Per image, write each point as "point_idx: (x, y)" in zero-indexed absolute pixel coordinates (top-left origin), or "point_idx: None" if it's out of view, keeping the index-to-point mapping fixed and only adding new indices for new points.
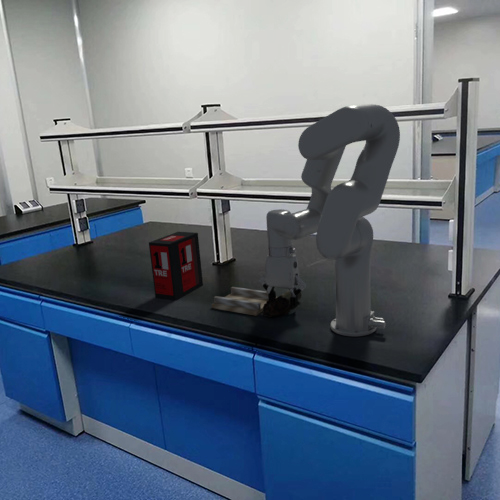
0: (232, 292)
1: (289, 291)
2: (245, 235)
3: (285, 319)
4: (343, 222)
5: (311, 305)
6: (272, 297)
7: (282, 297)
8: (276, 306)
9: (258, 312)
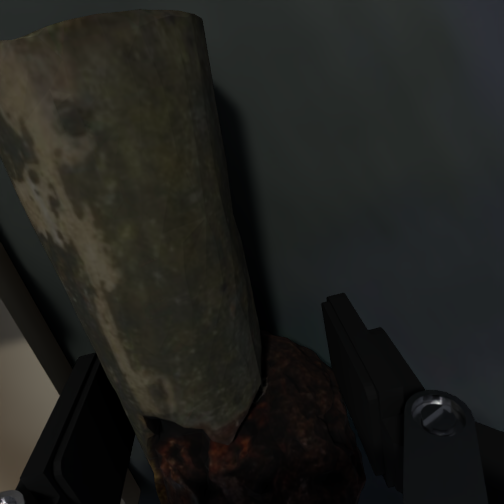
0: None
1: (123, 248)
2: None
3: (351, 425)
4: None
5: (382, 77)
6: (111, 476)
7: None
8: None
9: (127, 486)
